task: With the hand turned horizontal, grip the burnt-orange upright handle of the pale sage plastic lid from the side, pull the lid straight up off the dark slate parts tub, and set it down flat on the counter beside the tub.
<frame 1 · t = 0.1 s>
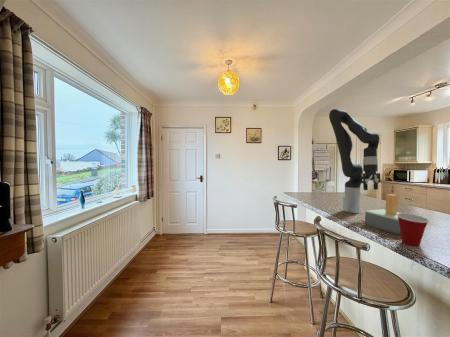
hand: (370, 189, 138), 17 cm above the countertop, tool pointing down, fingers open, 8 cm apart
parts tub: (390, 228, 116), on the countertop
lid: (390, 218, 115), point 5 cm above the countertop, touching parts tub
plastic cup: (411, 244, 95), on the countertop
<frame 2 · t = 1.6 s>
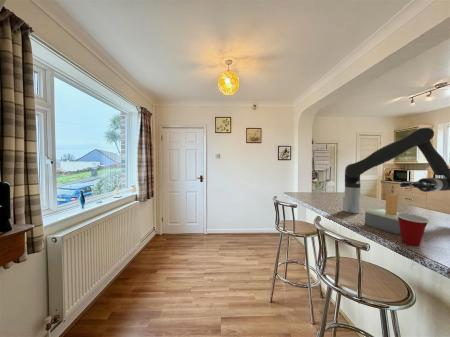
hand: (409, 185, 118), 22 cm above the countertop, tool horizontal, fingers open, 8 cm apart
nothing on the countertop moved.
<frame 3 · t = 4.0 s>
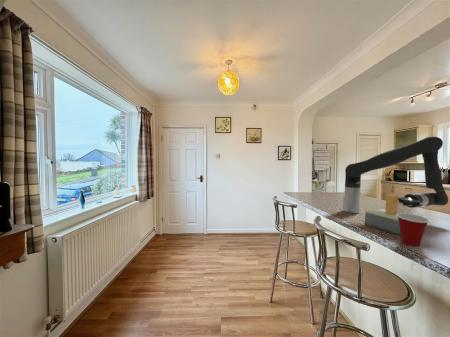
hand: (394, 201, 116), 14 cm above the countertop, tool horizontal, fingers open, 8 cm apart
nothing on the countertop moved.
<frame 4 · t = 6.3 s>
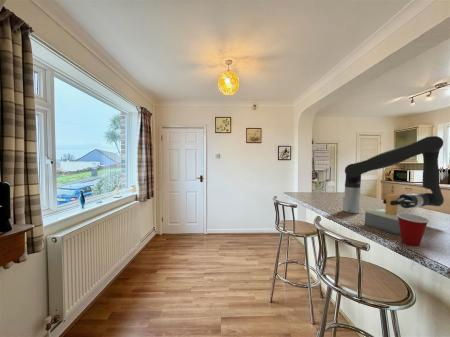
hand: (387, 202, 114), 14 cm above the countertop, tool horizontal, fingers closed on lid, 3 cm apart
lid: (390, 218, 115), point 5 cm above the countertop, touching gripper, parts tub
everything else where it was.
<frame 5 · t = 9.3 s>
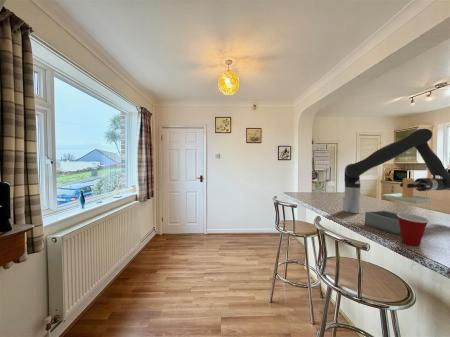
hand: (404, 185, 122), 22 cm above the countertop, tool horizontal, fingers closed on lid, 3 cm apart
lid: (407, 200, 123), point 13 cm above the countertop, touching gripper
everything else where it was.
when the fingers open (10 cm above the countertop, at t = 12.6 s): lid drops 2 cm, on the countertop.
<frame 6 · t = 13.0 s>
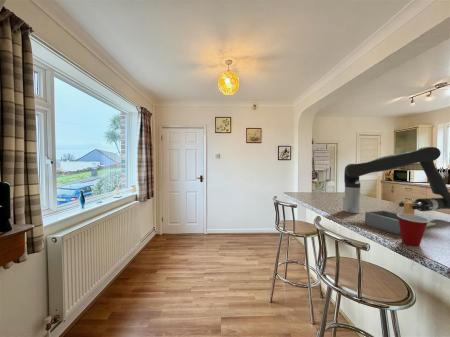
hand: (406, 206, 124), 10 cm above the countertop, tool horizontal, fingers open, 6 cm apart
lid: (408, 223, 126), on the countertop
everything else where it was.
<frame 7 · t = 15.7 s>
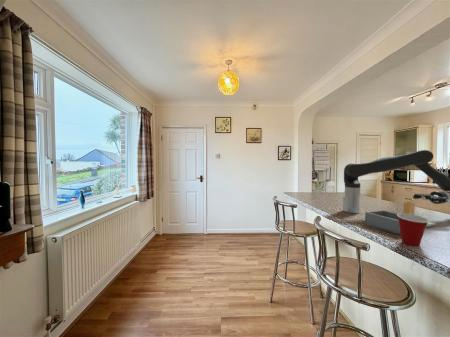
hand: (422, 198, 128), 14 cm above the countertop, tool horizontal, fingers open, 8 cm apart
nothing on the countertop moved.
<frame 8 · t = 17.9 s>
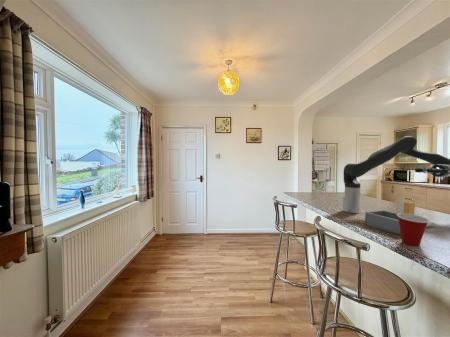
hand: (424, 170, 127), 30 cm above the countertop, tool horizontal, fingers open, 8 cm apart
nothing on the countertop moved.
at the end: lid inside the target area (0.0 cm from its centre), on the countertop; lid tilted 0°; the gripper is holding nothing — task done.
